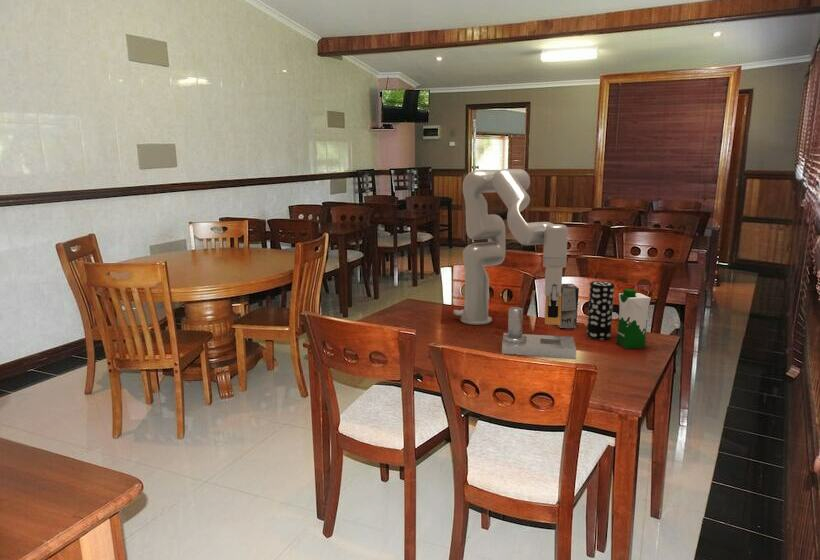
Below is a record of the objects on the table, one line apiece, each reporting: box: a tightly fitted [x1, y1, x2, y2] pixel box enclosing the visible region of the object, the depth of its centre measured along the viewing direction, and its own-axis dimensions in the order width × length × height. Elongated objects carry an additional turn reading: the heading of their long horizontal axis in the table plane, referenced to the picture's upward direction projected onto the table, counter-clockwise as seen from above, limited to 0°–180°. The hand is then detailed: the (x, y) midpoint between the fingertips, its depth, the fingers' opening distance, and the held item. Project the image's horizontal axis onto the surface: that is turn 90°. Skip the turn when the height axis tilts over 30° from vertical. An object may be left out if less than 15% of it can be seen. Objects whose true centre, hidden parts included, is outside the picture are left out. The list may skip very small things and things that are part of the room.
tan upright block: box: [544, 294, 562, 326], centre depth 192 cm, size 5×4×10 cm
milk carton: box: [615, 288, 652, 350], centre depth 198 cm, size 9×9×20 cm
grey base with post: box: [501, 306, 577, 359], centre depth 195 cm, size 24×14×14 cm, turn 78°
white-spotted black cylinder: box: [586, 280, 615, 341], centre depth 208 cm, size 8×8×20 cm
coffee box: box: [557, 283, 580, 329], centre depth 222 cm, size 9×6×16 cm
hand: (552, 314), depth 192 cm, fingers closed on tan upright block, 4 cm apart
